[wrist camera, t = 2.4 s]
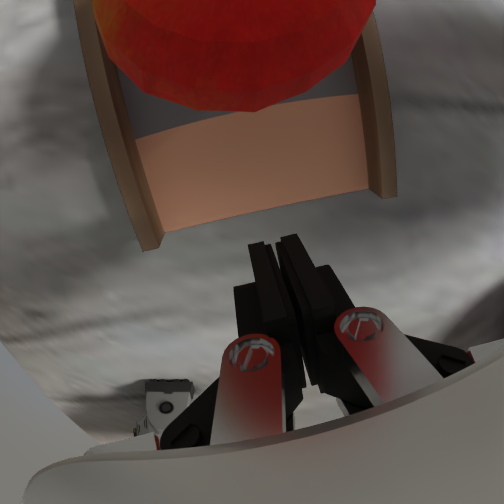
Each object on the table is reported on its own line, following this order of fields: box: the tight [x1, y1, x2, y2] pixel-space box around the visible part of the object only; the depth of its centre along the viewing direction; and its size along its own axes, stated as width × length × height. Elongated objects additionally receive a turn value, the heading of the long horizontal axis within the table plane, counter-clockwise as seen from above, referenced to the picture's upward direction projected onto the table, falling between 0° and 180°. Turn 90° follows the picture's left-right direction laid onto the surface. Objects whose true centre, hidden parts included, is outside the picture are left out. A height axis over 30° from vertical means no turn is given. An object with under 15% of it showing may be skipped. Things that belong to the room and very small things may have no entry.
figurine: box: [133, 379, 194, 437], centre depth 21 cm, size 9×12×15 cm
